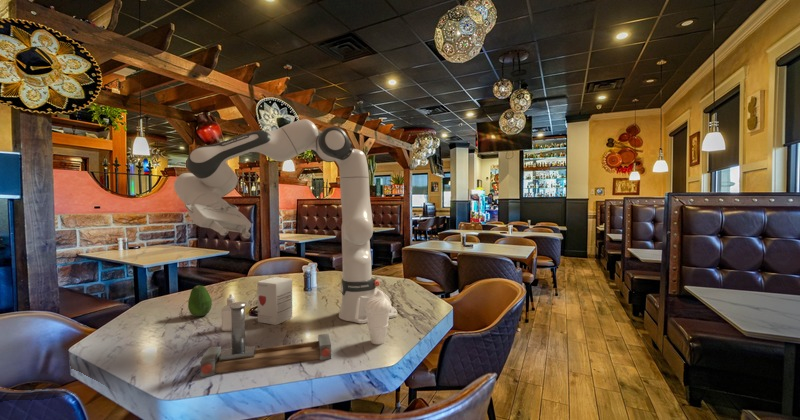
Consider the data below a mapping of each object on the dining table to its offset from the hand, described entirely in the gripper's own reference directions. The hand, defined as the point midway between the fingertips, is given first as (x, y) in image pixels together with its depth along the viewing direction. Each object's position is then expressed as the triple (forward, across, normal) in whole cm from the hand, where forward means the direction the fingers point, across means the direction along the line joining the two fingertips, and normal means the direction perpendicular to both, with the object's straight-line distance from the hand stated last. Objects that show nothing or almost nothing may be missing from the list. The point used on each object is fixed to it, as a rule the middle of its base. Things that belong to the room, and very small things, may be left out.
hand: (237, 235), depth 100 cm
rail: (+33, 0, +18) cm, 38 cm away
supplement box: (+15, +28, +25) cm, 40 cm away
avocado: (-9, +24, +44) cm, 51 cm away
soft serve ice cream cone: (+51, +18, +1) cm, 54 cm away
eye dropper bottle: (+9, +16, +32) cm, 37 cm away
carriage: (+27, -5, +21) cm, 35 cm away
